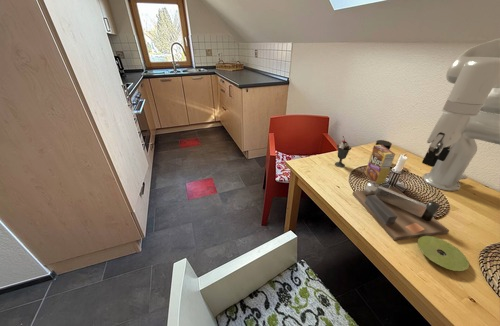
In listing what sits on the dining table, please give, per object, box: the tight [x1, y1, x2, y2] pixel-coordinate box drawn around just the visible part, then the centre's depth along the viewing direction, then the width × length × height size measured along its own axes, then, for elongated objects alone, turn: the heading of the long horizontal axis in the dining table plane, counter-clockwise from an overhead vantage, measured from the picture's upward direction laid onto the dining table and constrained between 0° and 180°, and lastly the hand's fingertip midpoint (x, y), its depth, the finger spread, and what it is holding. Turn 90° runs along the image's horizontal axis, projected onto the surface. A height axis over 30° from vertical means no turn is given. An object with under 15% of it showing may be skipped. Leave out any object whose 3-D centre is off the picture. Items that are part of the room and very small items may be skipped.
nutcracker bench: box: [352, 186, 450, 241], centre depth 73 cm, size 19×23×5 cm
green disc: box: [417, 236, 470, 272], centre depth 58 cm, size 11×11×2 cm
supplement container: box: [374, 139, 392, 151], centre depth 104 cm, size 7×7×10 cm
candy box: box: [364, 144, 396, 185], centre depth 88 cm, size 9×4×15 cm, turn 2°
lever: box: [364, 180, 441, 221], centre depth 73 cm, size 21×4×6 cm, turn 43°
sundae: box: [334, 136, 352, 168], centre depth 99 cm, size 7×7×15 cm
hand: (433, 161), depth 66 cm, fingers open, 6 cm apart
